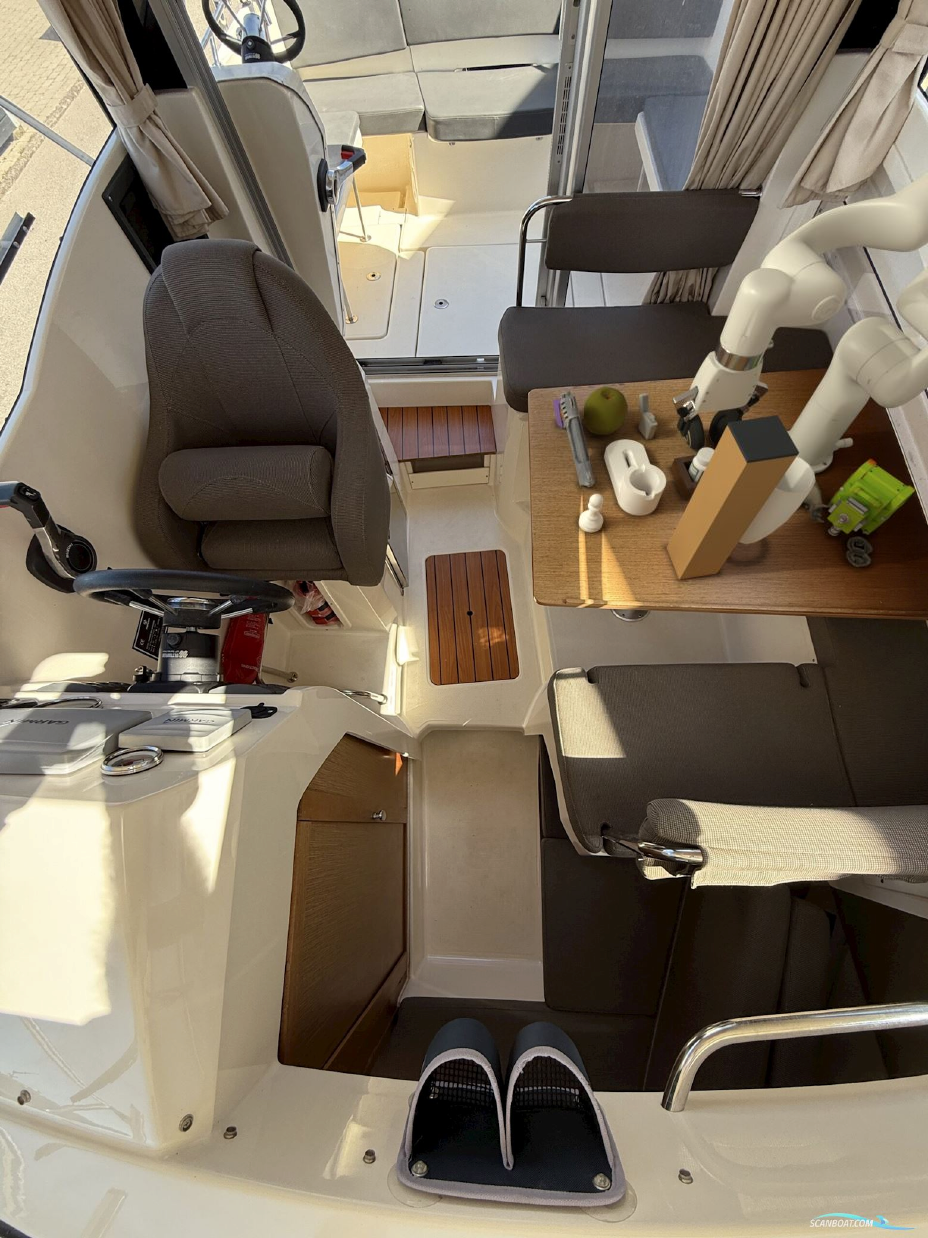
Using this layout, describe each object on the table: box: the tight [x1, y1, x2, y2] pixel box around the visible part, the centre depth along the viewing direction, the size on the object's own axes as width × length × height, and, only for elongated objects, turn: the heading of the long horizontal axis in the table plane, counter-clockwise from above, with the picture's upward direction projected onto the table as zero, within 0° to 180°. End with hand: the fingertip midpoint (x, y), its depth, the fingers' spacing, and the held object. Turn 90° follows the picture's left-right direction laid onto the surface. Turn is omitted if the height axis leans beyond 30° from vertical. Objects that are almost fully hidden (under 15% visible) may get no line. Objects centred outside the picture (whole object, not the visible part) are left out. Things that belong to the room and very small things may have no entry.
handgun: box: [552, 390, 596, 488], centre depth 130 cm, size 3×22×15 cm
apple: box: [582, 386, 629, 436], centre depth 131 cm, size 10×10×11 cm
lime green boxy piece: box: [827, 458, 916, 537], centre depth 115 cm, size 13×16×14 cm
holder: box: [669, 454, 699, 500], centre depth 126 cm, size 9×9×4 cm
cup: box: [738, 457, 816, 545], centre depth 110 cm, size 10×10×22 cm
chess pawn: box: [578, 493, 604, 533], centre depth 119 cm, size 5×5×9 cm
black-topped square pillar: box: [666, 414, 799, 580], centre depth 103 cm, size 8×8×35 cm
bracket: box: [603, 439, 667, 516], centre depth 125 cm, size 20×9×7 cm, turn 7°
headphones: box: [683, 379, 761, 451], centre depth 124 cm, size 9×15×20 cm, turn 98°
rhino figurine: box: [802, 479, 830, 524], centre depth 121 cm, size 4×14×6 cm, turn 7°
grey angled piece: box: [638, 392, 659, 441], centre depth 132 cm, size 7×2×8 cm, turn 22°
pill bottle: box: [687, 447, 715, 482], centre depth 124 cm, size 5×5×8 cm
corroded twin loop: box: [845, 535, 874, 568], centre depth 117 cm, size 5×8×1 cm, turn 156°
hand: (706, 427), depth 110 cm, fingers open, 9 cm apart
